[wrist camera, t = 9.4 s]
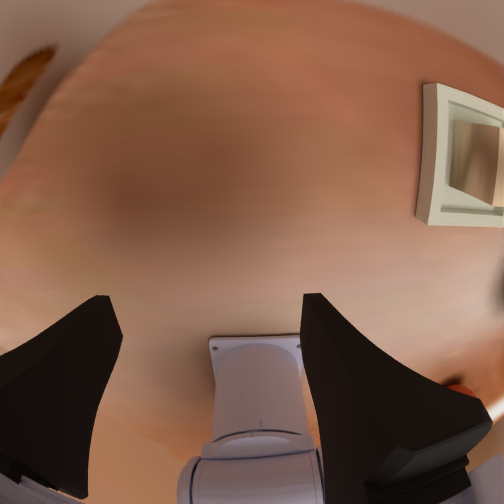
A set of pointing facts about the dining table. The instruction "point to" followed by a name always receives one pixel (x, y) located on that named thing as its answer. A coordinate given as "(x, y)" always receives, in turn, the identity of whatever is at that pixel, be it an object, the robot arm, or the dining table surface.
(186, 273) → the dining table surface
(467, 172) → the maple block
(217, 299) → the dining table surface
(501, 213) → the tray
